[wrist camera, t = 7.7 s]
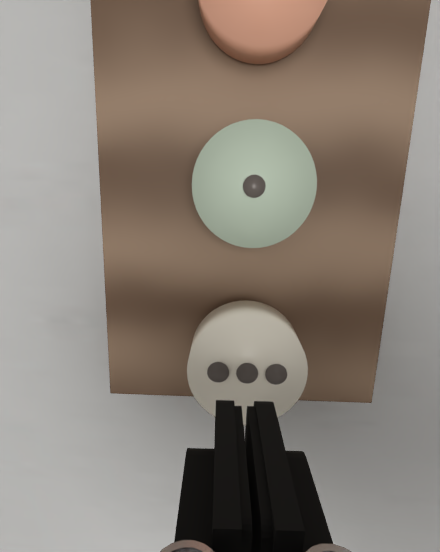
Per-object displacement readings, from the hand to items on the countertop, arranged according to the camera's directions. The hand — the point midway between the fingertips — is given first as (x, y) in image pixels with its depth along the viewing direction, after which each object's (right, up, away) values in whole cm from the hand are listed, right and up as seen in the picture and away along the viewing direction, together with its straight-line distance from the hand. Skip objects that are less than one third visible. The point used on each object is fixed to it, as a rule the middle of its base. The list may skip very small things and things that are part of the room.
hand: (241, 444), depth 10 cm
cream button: (0, +1, +6) cm, 7 cm away
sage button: (+1, +9, +6) cm, 11 cm away
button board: (+1, +10, +9) cm, 13 cm away
